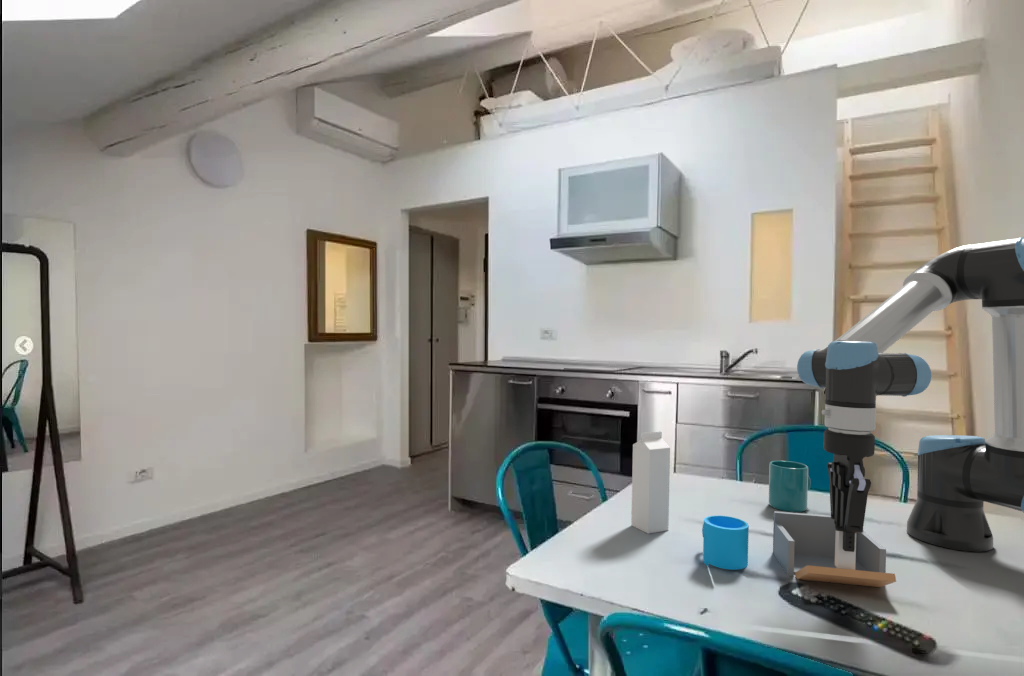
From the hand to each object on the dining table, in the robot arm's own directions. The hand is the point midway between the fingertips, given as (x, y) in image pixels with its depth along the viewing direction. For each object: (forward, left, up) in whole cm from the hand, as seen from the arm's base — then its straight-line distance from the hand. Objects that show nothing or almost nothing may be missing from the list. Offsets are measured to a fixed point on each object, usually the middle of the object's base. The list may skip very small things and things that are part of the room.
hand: (844, 567), depth 96 cm
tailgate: (0, -5, -4) cm, 6 cm away
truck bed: (0, -11, -5) cm, 12 cm away
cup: (-5, -52, -5) cm, 52 cm away
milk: (+32, -26, -5) cm, 41 cm away
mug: (+19, -11, -5) cm, 22 cm away
